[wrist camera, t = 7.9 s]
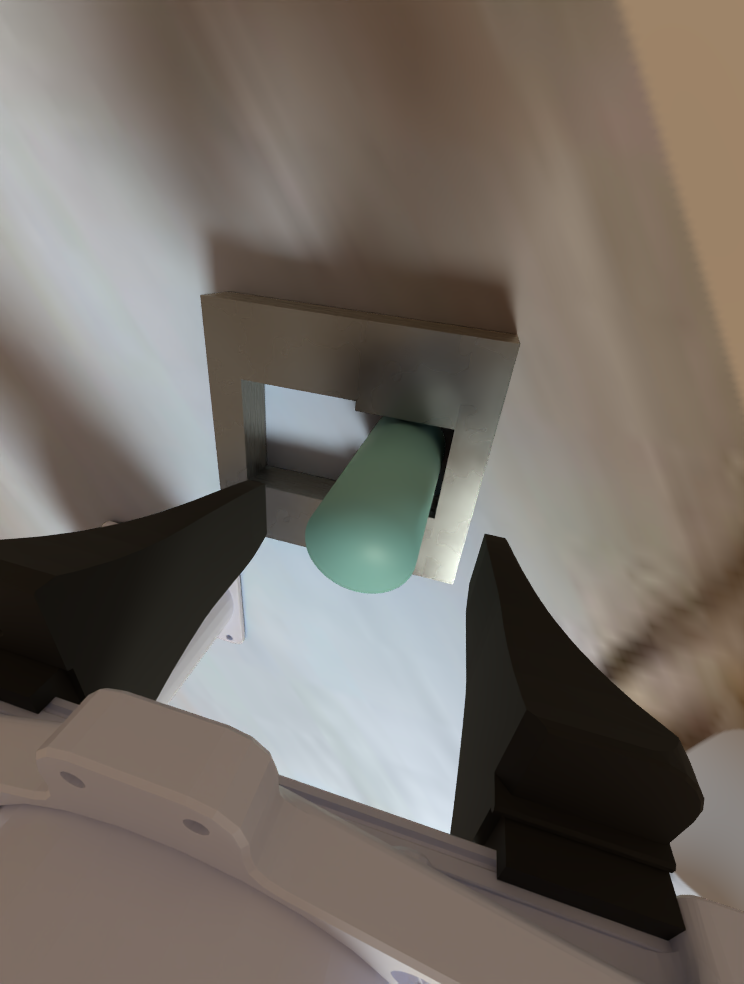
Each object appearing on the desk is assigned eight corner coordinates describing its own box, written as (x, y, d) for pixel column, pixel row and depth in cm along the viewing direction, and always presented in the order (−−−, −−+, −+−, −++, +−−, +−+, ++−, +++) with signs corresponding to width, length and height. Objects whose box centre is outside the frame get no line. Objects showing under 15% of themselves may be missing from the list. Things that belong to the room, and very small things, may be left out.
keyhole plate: (244, 506, 23) (224, 526, 21) (228, 291, 17) (200, 294, 16) (455, 558, 21) (452, 584, 19) (517, 334, 15) (520, 343, 14)
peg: (368, 469, 20) (303, 577, 13) (376, 401, 18) (306, 486, 11) (437, 484, 19) (407, 605, 12) (452, 416, 17) (426, 514, 11)
